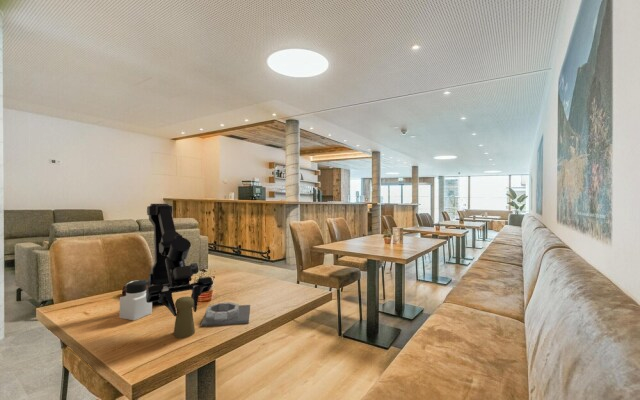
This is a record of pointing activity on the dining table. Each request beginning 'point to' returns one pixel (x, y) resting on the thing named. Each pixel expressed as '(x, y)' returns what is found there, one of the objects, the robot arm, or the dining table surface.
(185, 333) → the cork
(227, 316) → the socket block
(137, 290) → the medicine bottle
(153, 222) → the robot arm
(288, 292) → the dining table surface
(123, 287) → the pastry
